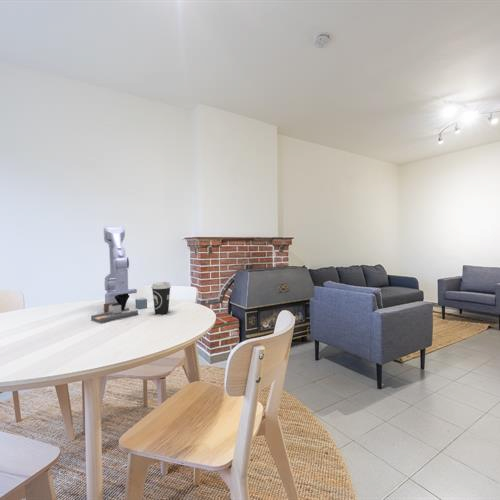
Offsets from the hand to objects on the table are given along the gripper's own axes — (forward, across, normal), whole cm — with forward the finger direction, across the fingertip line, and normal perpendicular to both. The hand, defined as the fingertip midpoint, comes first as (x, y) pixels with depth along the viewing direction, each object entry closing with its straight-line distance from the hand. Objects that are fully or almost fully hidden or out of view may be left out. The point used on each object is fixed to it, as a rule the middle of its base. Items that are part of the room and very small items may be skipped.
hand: (122, 309), depth 138 cm
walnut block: (+3, 0, +10) cm, 10 cm away
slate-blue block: (+3, +15, +7) cm, 16 cm away
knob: (+1, -3, 0) cm, 4 cm away
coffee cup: (+3, +15, -11) cm, 19 cm away
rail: (+3, -3, 0) cm, 4 cm away
